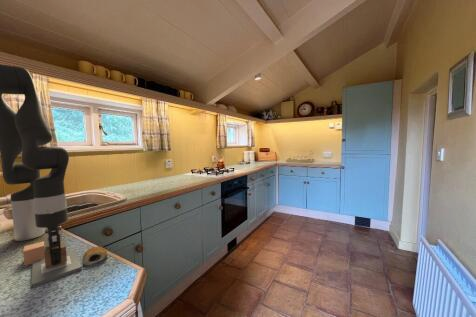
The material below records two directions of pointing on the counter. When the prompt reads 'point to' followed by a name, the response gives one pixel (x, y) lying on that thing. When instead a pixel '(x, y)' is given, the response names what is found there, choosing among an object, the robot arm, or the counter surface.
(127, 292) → the counter surface
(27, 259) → the terracotta block
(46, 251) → the walnut block
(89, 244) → the counter surface
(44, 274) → the plate
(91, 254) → the pastry
